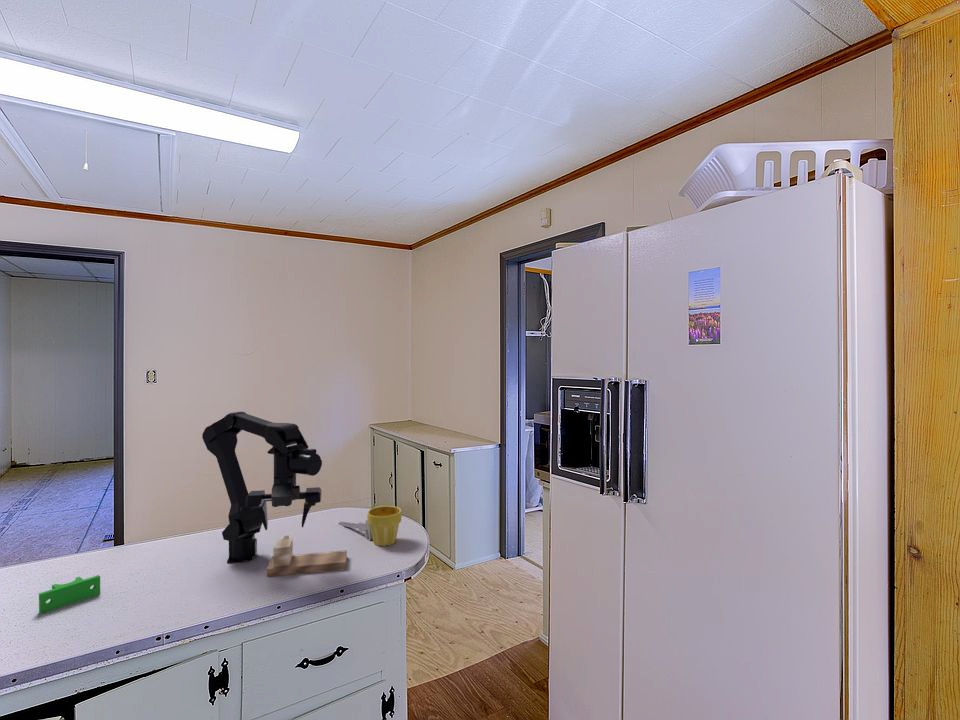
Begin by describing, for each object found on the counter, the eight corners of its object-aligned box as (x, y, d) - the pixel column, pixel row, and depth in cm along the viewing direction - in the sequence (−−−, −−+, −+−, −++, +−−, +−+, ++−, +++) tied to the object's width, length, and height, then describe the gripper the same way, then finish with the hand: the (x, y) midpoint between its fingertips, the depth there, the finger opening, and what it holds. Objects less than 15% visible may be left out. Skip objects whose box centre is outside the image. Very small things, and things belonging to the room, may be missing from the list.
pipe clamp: (94, 590, 122) (94, 571, 122) (100, 594, 120) (100, 576, 120) (35, 609, 113) (35, 589, 113) (40, 614, 111) (40, 594, 111)
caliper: (372, 541, 155) (373, 521, 155) (369, 541, 154) (370, 521, 154) (341, 523, 170) (341, 505, 170) (338, 524, 169) (338, 506, 169)
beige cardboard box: (273, 566, 131) (273, 548, 131) (279, 553, 140) (278, 535, 140) (289, 565, 132) (289, 546, 132) (294, 551, 141) (294, 534, 141)
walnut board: (266, 576, 130) (266, 568, 130) (272, 563, 138) (272, 556, 138) (345, 569, 134) (345, 561, 134) (346, 557, 142) (346, 550, 142)
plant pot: (370, 551, 147) (370, 518, 146) (364, 538, 156) (364, 507, 156) (404, 546, 151) (404, 514, 150) (397, 534, 160) (397, 504, 160)
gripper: (241, 480, 124) (241, 542, 124) (319, 477, 129) (319, 536, 129) (249, 470, 135) (249, 526, 135) (321, 466, 140) (321, 521, 140)
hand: (284, 528), depth 135 cm, fingers open, 9 cm apart
